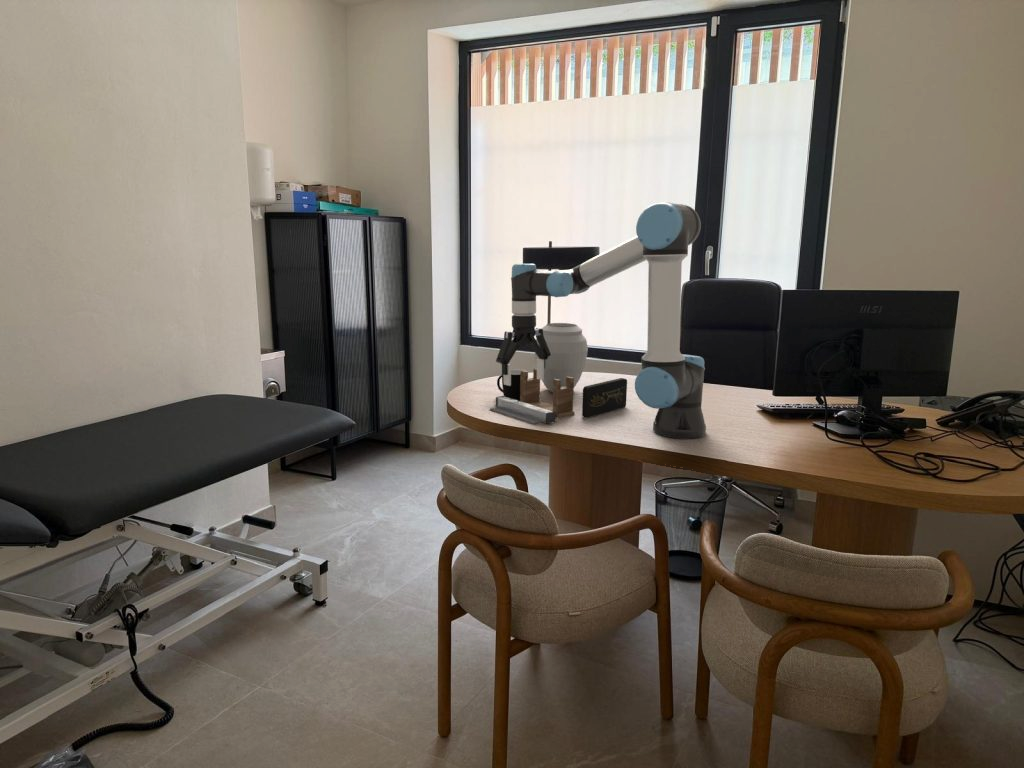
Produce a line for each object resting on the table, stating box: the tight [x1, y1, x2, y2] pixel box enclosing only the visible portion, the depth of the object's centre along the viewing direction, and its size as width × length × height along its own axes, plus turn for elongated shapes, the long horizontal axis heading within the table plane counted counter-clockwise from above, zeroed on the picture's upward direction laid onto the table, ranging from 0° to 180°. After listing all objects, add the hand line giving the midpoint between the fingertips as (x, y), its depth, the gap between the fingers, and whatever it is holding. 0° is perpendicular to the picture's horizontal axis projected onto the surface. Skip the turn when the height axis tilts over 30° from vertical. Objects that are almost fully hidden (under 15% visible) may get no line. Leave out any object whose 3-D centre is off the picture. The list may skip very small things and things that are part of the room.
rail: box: [495, 395, 556, 424], centre depth 219 cm, size 25×3×3 cm, turn 39°
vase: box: [534, 322, 589, 393], centre depth 252 cm, size 20×20×24 cm
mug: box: [496, 368, 529, 401], centre depth 239 cm, size 12×9×10 cm
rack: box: [520, 368, 575, 419], centre depth 225 cm, size 20×7×12 cm, turn 39°
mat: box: [489, 406, 557, 426], centre depth 220 cm, size 22×9×1 cm, turn 39°
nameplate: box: [581, 377, 628, 419], centre depth 224 cm, size 21×2×10 cm, turn 135°
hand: (524, 382), depth 218 cm, fingers open, 13 cm apart
